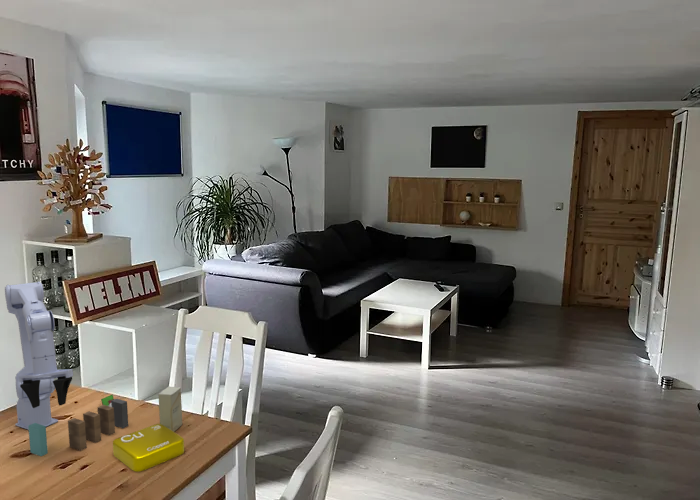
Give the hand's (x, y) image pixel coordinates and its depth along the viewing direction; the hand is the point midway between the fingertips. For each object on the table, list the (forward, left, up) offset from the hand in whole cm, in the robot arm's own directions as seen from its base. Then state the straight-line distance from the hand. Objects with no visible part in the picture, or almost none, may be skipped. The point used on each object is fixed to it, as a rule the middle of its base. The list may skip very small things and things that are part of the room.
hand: (49, 405), depth 154 cm
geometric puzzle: (-5, +24, -15) cm, 29 cm away
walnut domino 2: (+3, +11, -15) cm, 18 cm away
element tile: (+23, +13, -15) cm, 30 cm away
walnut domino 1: (+3, +6, -15) cm, 16 cm away
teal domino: (-4, -1, -15) cm, 15 cm away
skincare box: (+18, +27, -15) cm, 35 cm away
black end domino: (+3, +21, -15) cm, 26 cm away
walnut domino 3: (+3, +16, -15) cm, 22 cm away
